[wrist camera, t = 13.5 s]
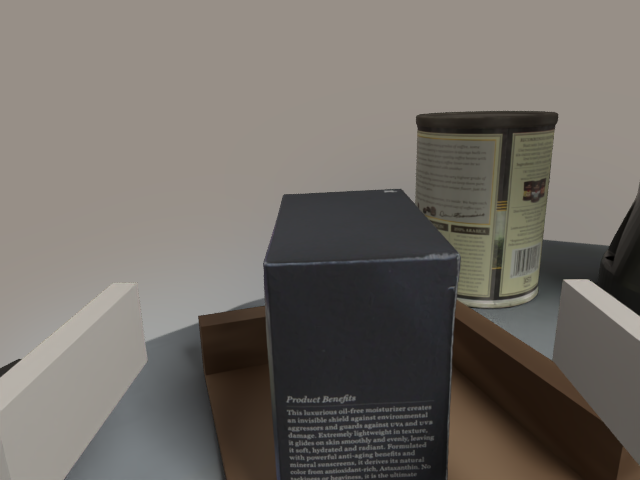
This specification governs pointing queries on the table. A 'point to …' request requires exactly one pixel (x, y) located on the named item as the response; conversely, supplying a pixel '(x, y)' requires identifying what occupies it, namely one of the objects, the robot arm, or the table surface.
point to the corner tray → (465, 407)
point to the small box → (359, 337)
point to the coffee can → (488, 197)
